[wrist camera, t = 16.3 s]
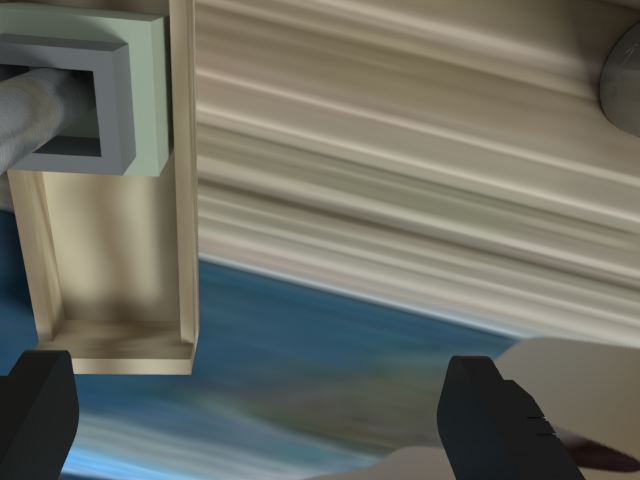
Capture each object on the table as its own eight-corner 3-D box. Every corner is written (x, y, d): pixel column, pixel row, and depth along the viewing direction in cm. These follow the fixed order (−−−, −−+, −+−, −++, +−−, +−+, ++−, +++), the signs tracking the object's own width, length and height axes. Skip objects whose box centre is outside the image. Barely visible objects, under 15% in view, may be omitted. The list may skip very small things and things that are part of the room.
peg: (100, 61, 29) (-25, 117, 16) (104, 114, 30) (-8, 204, 18) (43, 56, 28) (-130, 110, 16) (50, 110, 30) (-104, 200, 17)
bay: (193, -50, 33) (180, -55, 28) (199, 329, 46) (191, 374, 41) (-6, -71, 32) (-61, -82, 26) (59, 326, 45) (31, 373, 40)
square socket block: (168, 15, 33) (136, 26, 25) (173, 148, 37) (147, 197, 29) (22, 1, 32) (-64, 9, 24) (43, 140, 36) (-24, 189, 28)
